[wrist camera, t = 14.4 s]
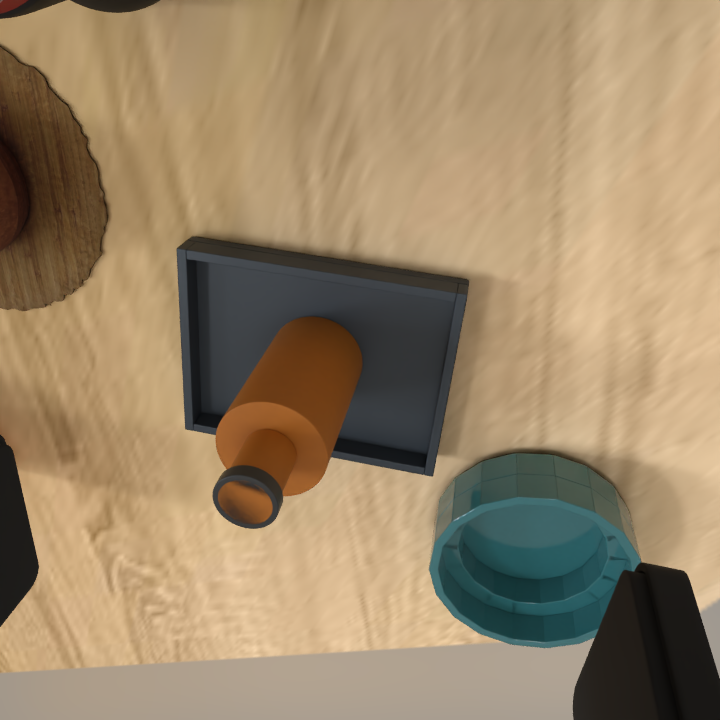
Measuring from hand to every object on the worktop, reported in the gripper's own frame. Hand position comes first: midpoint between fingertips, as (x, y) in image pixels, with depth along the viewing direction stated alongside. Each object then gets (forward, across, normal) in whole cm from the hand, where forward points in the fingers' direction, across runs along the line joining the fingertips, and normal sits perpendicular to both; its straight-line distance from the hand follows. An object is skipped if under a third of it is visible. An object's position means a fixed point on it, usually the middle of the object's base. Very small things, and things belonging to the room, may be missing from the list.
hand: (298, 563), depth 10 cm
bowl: (+30, -10, +25) cm, 40 cm away
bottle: (+29, +6, +14) cm, 33 cm away
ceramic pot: (+30, +29, +6) cm, 42 cm away
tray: (+30, +6, +14) cm, 34 cm away
